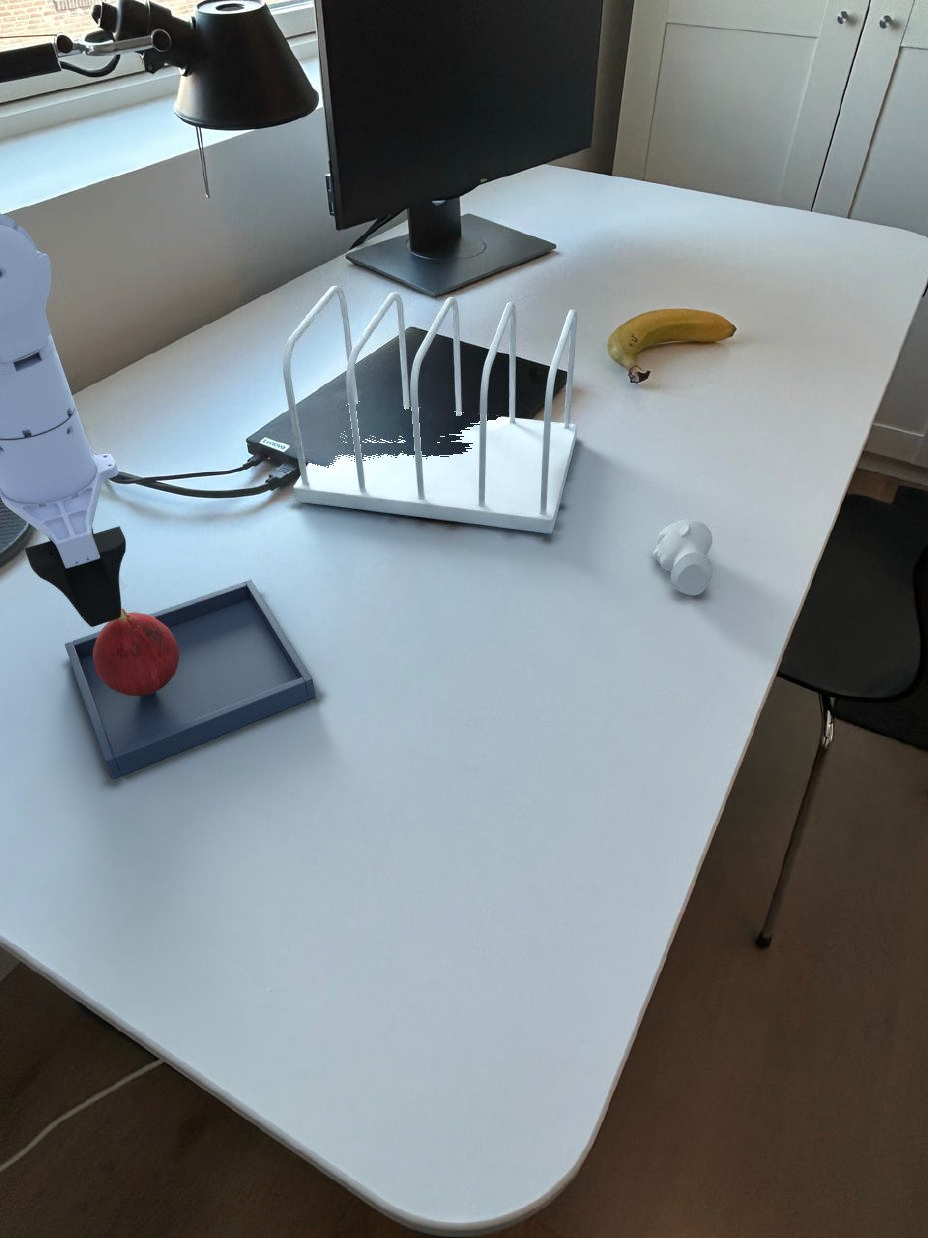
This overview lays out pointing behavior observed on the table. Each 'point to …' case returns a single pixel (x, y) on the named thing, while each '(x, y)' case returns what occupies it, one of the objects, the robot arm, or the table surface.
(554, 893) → the table surface
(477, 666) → the table surface
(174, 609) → the tray
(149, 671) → the red pomegranate
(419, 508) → the file sorter
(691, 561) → the pale two-lobed sculpture
